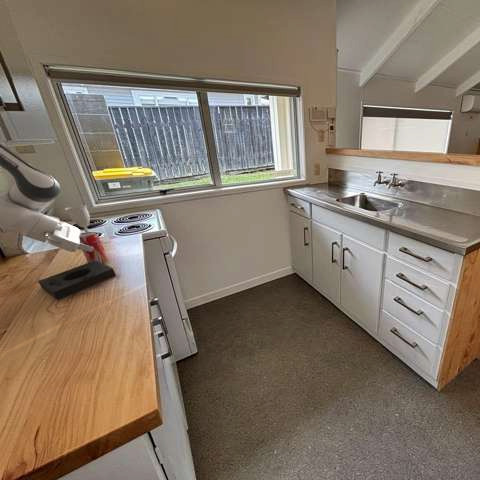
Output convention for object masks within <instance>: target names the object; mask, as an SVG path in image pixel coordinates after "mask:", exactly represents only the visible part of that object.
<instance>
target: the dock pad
mask: <svg viewBox="0 0 480 480" xmlns="http://www.w3.org/2000/svg"><path fill="white" fill-rule="evenodd" d="M116 276H117V274H116V272H115V270H114V268H113V267H111V266H108V265H107V264H105V263H100V262H98V261H96V260H95V261H92V262H89V263H88V262H87V263H83V264H81V265H78V266H76V267H73V268H70V269H67V270H64V271H61V272H59V273H56V274H54V275H50V276H48V277H45V278H42V279H40V280H38V281H37V283H38V284H39V286H40V288H41V289H42V290H43V291H44V292H46V293H47V294H48V295H50V296H51V297H52V298H54V299H55V300H57V301H60V300H62V299H65V298H67V297H69V296H71V295H74V294H76V293H79V292H81V291H84V290H85V289H88V288H91V287H93V286H95V285H97V284H100V283H102V282H104V281H106V280H109V279H111V278H113V277H116Z"/></svg>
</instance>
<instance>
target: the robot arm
mask: <svg viewBox="0 0 480 480" xmlns="http://www.w3.org/2000/svg"><path fill="white" fill-rule="evenodd" d="M0 170H2V171H3V172H4V173H6V174H8V175H9V176H10V177H11V178H12V180H13V185H12V186H11V188H10V189H8V190H6V191H4V192H0V229H1V230H4V231H7V232H13V233H17V234H19V235H22V236H23V237H24V238H25V237H26V238H29V239H32V240H34V241H38V242H41V243H45V242H46V241H47V243H48V244H49V245H51V246H53V247H56V248H59V249H61V250H64V251H67V252H70V253H74V252H76V251H77V250H80V251H82V250H86V251H90V252H92V251H93V249H94V247H93V246H90V245H85V244H83V243H80V237H79V235H80V234H82V230H81V229H79V227H76V226H73V225H72V224H69V223H67V222H65V221H63V220H60V218H59V217H56V216H49V215H46V214H44V213H42V211H44V210H45V209H46V208H47V207H48V206H49V204H50V203H51V202H52V201H53V200H54V199H55V198H56V197H58V196H59V194H60V193H61V186H60V183H59V182H58V181H57V180H56V179H55V178H54V177H53V176H52V175H50V174H48V173H46V172H44V171H42V170H40V169H39V168H37V167H35V166H34V165H32V164H30V163H29V162H28V161H26V160H25V159H23V158H22V157H20V156H19V155H18V154H16V153H15V152H14V151H12V150H10V148H8V147H6V146H5V145H3V144H2V143H0Z"/></svg>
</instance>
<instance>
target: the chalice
mask: <svg viewBox="0 0 480 480" xmlns="http://www.w3.org/2000/svg"><path fill="white" fill-rule="evenodd" d="M87 207H88V206H87V204H78V205H73V206H68V207H66V208H65V210H66V211H67V213H68V215H69V217H70V219H71V220H72V222H74V224H76V225H77V226H78V227H80V228H83V229H84V233H87V232H90V229H88V227H89V226H90V220H91V215H90V213H89V210H88V209H87Z"/></svg>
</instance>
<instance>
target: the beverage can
mask: <svg viewBox="0 0 480 480" xmlns="http://www.w3.org/2000/svg"><path fill="white" fill-rule="evenodd" d="M79 237H80V243H83V244H85V245H90V246H93V247H94V249H93V251H92V252H90V251H86V250H81V251H82V253H83V256H84V257H85V260H86V261H87V263H89V262H92V261H95V260H96V261H98V262H100V263H102V264H104V262H106V261H107V260H108V259H109V257H108V255H107V251H106V249H105V247H104V244H103V242H102V240H101V237H100V236H99V234H98V233H96V232H95V231H89V232H87V233H86V232H84V233H81V234H80V235H79Z"/></svg>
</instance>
